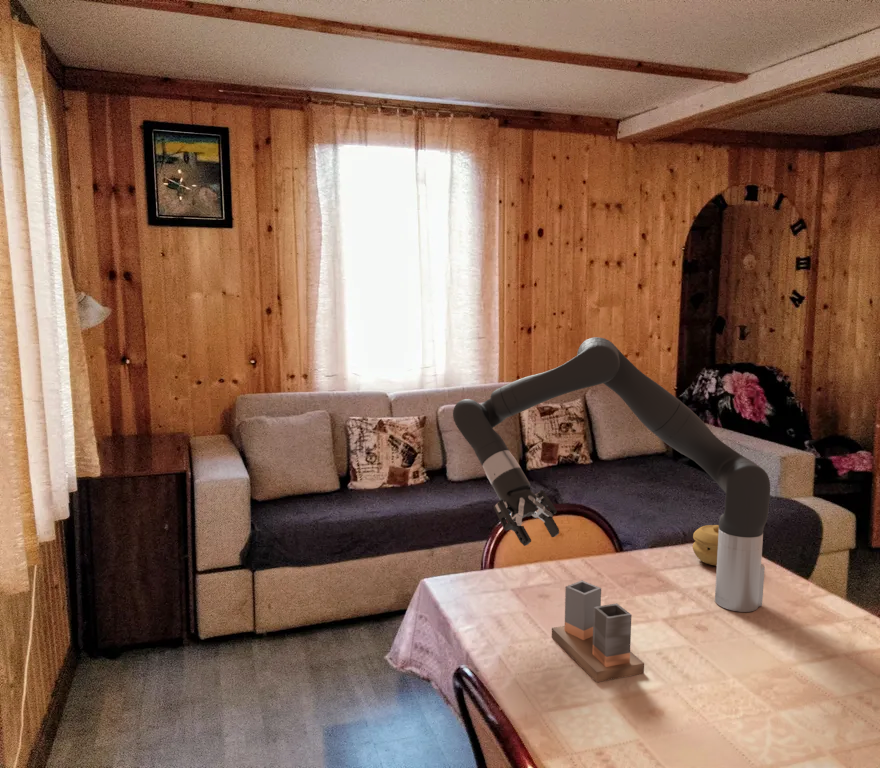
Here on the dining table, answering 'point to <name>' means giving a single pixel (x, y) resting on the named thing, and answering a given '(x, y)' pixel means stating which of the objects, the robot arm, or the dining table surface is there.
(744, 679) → the dining table surface
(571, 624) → the sleeve
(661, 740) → the dining table surface
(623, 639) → the pin board
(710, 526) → the pot
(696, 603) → the dining table surface
